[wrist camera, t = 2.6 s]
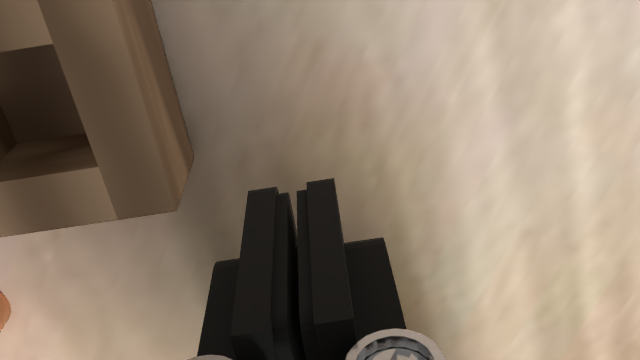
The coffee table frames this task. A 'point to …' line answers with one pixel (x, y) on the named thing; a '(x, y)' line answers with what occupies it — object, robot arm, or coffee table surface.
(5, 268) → the coffee table surface
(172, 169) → the wooden frame
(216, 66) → the coffee table surface
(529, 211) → the coffee table surface
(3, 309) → the dowel
